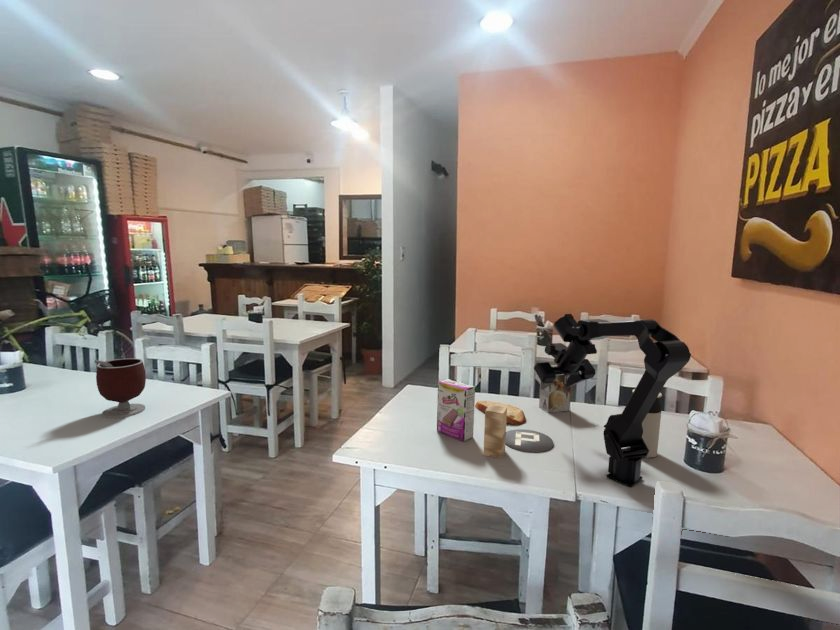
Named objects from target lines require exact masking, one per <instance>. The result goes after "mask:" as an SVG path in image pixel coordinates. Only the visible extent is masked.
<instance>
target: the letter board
mask: <svg viewBox="0 0 840 630" xmlns="http://www.w3.org/2000/svg"><path fill="white" fill-rule="evenodd" d="M505 446H508V447H509V448H511V449H514V450H517V451H520V452H525V453H526V452H527V453H542V452H547V451H549V450H551V449H552V448H553V447H554V440H553V439H552V438H551V437H550V436H549V435H547V434H545V433H542V432H540V431H536V430H532V429H522V428H521V429H520V428H519V429H518V428H517V429H510V430H508V431H507V430H506V440H505Z"/></svg>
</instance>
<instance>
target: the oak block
mask: <svg viewBox="0 0 840 630" xmlns="http://www.w3.org/2000/svg"><path fill="white" fill-rule="evenodd" d="M506 420H507V407H501V406H494V405H489V406H488V408H487V409H486V410H485V413H484V429H483V430H484V433H483V434H484V435H483V456H488V457H493V458H497V459H502V457H503V456H504V454H505V452H506V444H505V440H506V432H507V423H506Z"/></svg>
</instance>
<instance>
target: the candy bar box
mask: <svg viewBox="0 0 840 630" xmlns="http://www.w3.org/2000/svg"><path fill="white" fill-rule="evenodd" d="M475 396H476V386H475V385H471V384H468V383H463V382H460V381H456V380H453V379H449V378H445V379H441V380H439V381H437V406H436V407H437V409H436V410H437V413H436V415H437V416H436V432H438V433H441V434H444V435H446V436H449V437H452V438H454V439H457V440H458V441H462V442H466V441H468V440H470V439H473V438H474V424H475V423H474V422H475V420H474V419H475V400H476V399H475V398H476V397H475Z"/></svg>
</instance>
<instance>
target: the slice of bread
mask: <svg viewBox="0 0 840 630" xmlns="http://www.w3.org/2000/svg"><path fill="white" fill-rule="evenodd" d="M489 405H494V406H501V407H507V420H506V424H507V425H508V424H509V425H514V426H521V425H523V424H526V421H527V418H526V415H525V412H524V411H523V410H522V409H520V408H519V407H517V406H515V405H514V406H513V405H511V404H507V403H506V404H505V403H502V402H496V401H490V400H478V401H477V402H476V404H474V408H476V409H477V410H478V411H480V412H481V413H484V414H485V410H486V409H487V408H488V406H489Z"/></svg>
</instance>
